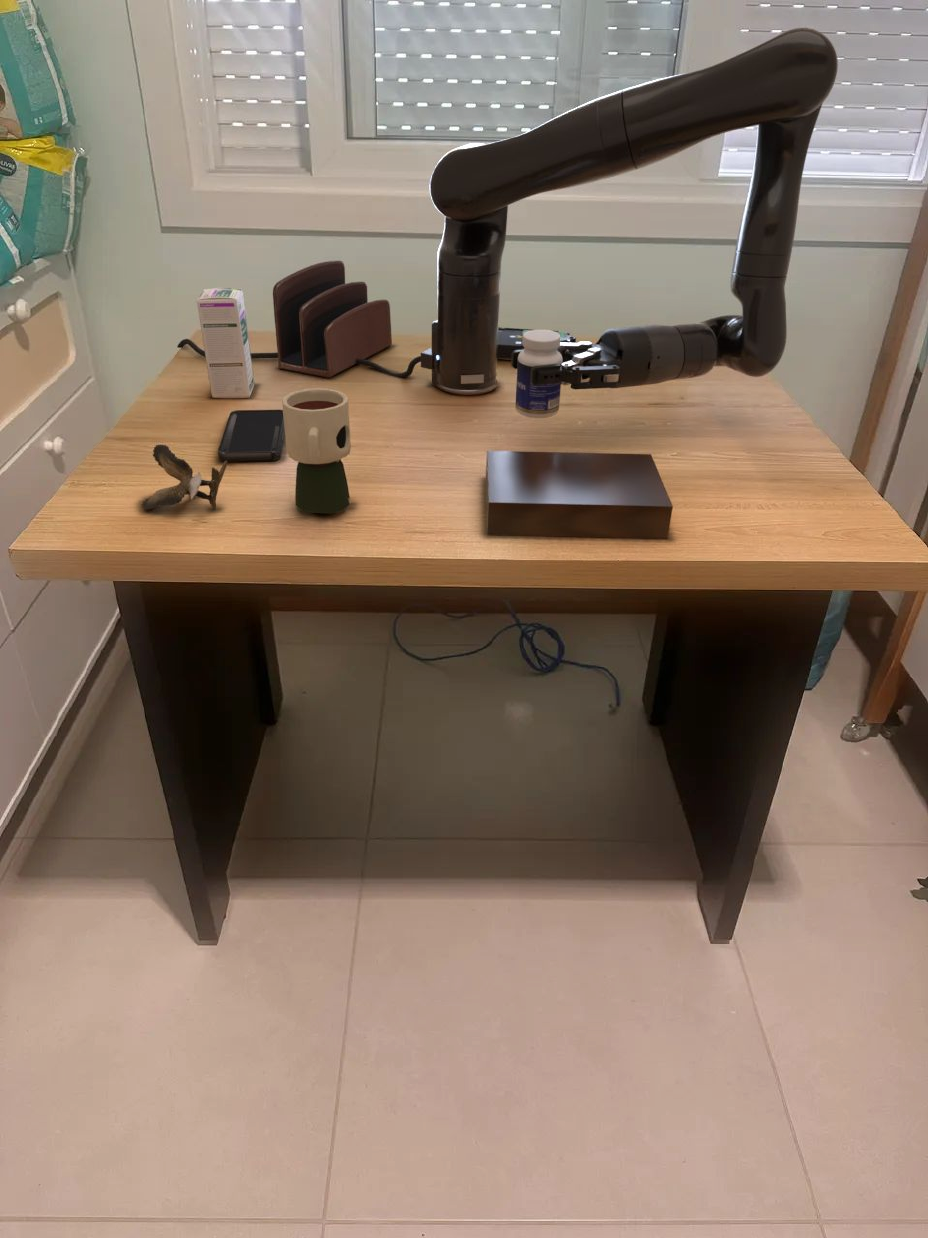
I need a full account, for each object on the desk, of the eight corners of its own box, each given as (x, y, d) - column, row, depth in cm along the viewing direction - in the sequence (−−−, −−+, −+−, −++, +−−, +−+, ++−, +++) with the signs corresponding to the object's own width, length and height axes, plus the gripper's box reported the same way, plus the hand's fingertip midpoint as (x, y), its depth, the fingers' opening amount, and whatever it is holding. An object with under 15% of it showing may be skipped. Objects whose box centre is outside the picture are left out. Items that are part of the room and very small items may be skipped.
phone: (216, 453, 112) (231, 409, 124) (218, 462, 112) (232, 417, 124) (280, 452, 112) (288, 409, 125) (281, 460, 113) (288, 416, 125)
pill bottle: (512, 403, 118) (516, 327, 112) (554, 403, 118) (560, 327, 112) (518, 419, 113) (522, 341, 107) (562, 419, 113) (568, 341, 108)
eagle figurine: (232, 478, 106) (158, 461, 105) (224, 446, 99) (145, 427, 99) (212, 534, 103) (136, 516, 103) (203, 504, 96) (121, 484, 96)
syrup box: (250, 398, 131) (238, 297, 123) (210, 398, 131) (195, 297, 123) (255, 385, 136) (244, 287, 128) (216, 385, 136) (202, 287, 128)
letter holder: (277, 369, 142) (268, 277, 135) (344, 337, 157) (339, 253, 149) (330, 379, 139) (323, 286, 131) (393, 345, 154) (390, 260, 146)
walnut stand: (487, 534, 98) (488, 502, 96) (485, 480, 110) (486, 450, 107) (667, 538, 98) (673, 506, 96) (646, 484, 110) (651, 453, 107)
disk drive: (478, 360, 149) (567, 364, 147) (479, 343, 147) (568, 347, 146) (485, 341, 157) (569, 345, 156) (485, 325, 156) (570, 329, 154)
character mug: (352, 529, 98) (345, 417, 91) (287, 530, 98) (275, 417, 91) (356, 486, 107) (350, 381, 100) (296, 486, 107) (286, 381, 100)
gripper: (617, 312, 120) (501, 321, 115) (672, 343, 108) (547, 355, 104) (611, 366, 124) (499, 378, 119) (663, 402, 113) (542, 416, 108)
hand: (522, 367), depth 111 cm, fingers closed on pill bottle, 5 cm apart
